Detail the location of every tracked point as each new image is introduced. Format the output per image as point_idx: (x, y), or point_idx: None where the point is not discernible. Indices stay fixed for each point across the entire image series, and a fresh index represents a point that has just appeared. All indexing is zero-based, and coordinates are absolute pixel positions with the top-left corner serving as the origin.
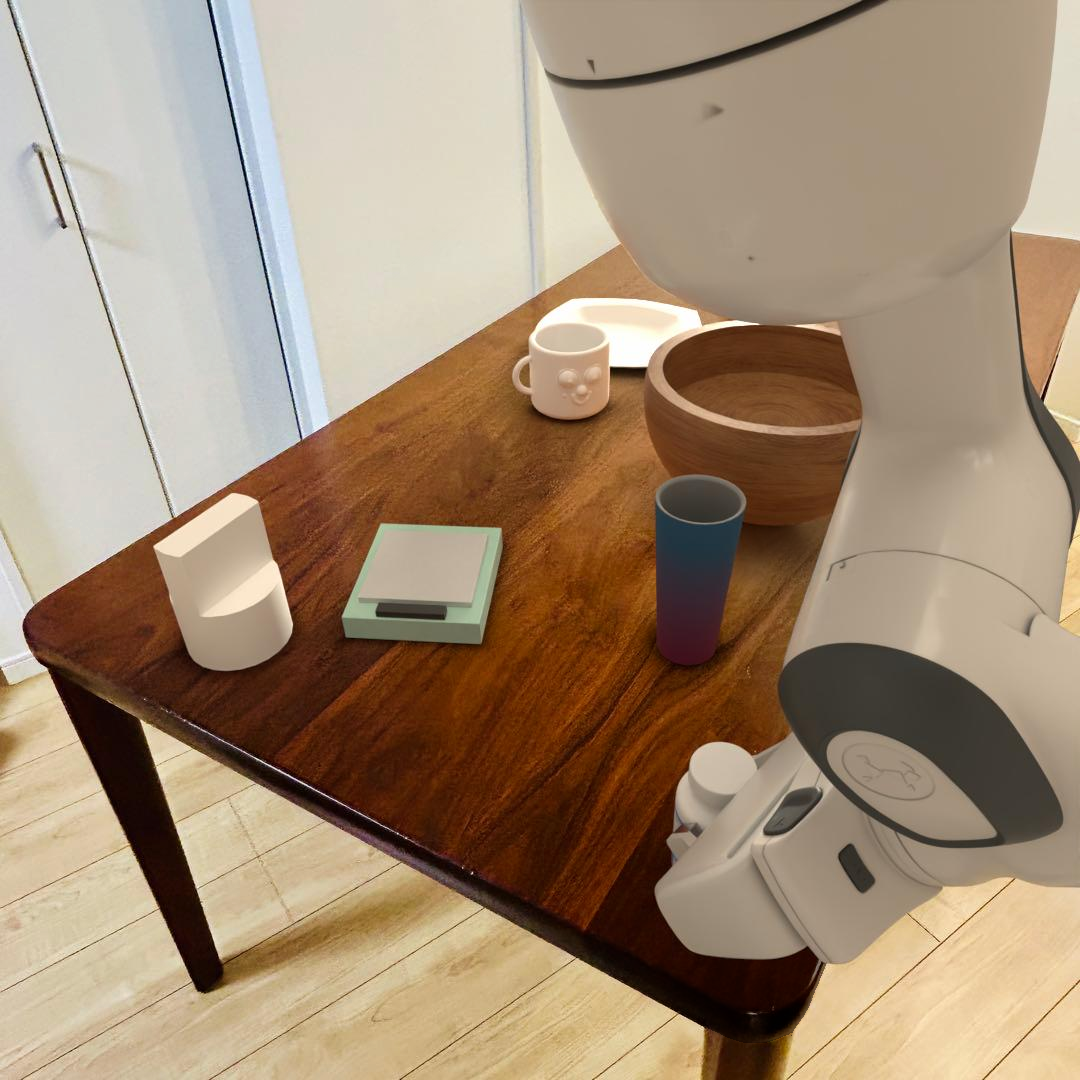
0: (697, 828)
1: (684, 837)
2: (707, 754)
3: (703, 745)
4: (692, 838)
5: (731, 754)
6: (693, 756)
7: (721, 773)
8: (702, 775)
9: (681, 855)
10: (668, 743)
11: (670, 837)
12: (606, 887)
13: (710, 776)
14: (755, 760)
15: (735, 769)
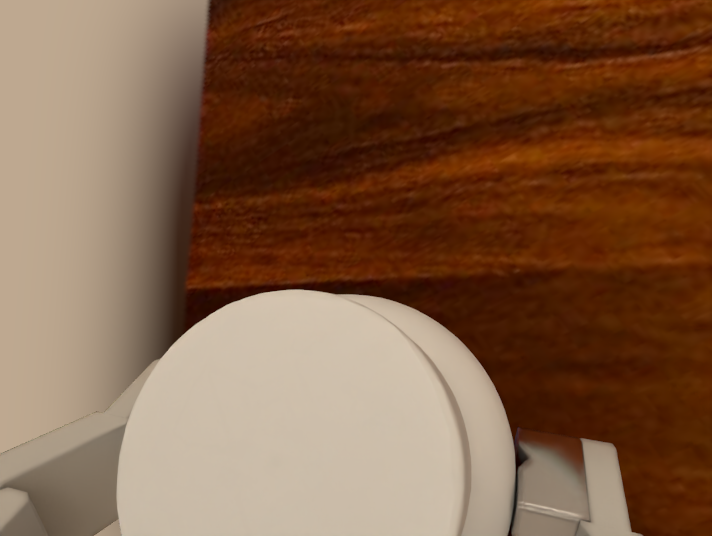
0: None
1: (92, 419)
2: (321, 352)
3: (368, 308)
4: (27, 460)
5: (381, 470)
6: (276, 297)
7: (236, 470)
8: (184, 387)
9: None
10: (684, 199)
11: (149, 367)
12: (268, 277)
13: (192, 426)
14: (586, 534)
15: (293, 533)
